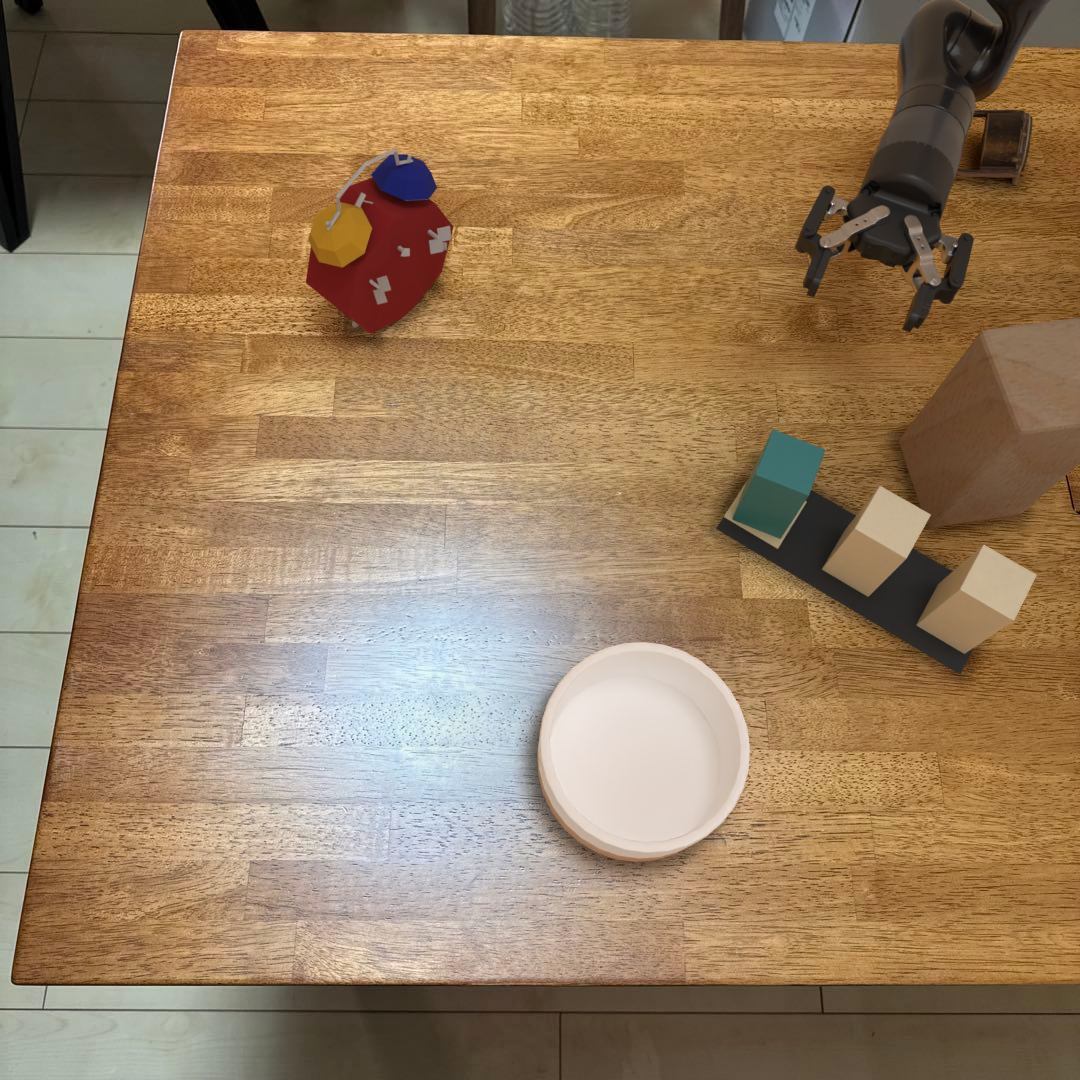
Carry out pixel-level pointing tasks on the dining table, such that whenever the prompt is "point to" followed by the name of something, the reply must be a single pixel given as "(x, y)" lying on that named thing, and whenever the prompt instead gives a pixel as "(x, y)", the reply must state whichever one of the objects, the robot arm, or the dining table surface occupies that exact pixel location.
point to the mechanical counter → (1002, 144)
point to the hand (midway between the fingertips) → (861, 308)
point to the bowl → (642, 751)
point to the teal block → (778, 484)
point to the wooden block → (999, 425)
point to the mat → (886, 606)
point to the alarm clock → (380, 243)
